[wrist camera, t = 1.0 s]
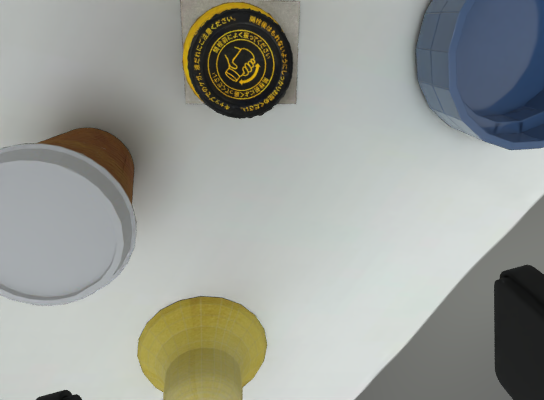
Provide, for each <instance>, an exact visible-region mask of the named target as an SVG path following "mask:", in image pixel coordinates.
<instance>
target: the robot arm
mask: <svg viewBox="0 0 544 400" xmlns="http://www.w3.org/2000/svg"><path fill="white" fill-rule="evenodd" d="M494 310H495V311H494V312H495V313H494V315H495V316H494V320H495V321H494V322H495V372H496V375H497V378H498V380H499V382H500V383H501V385H502V386H503V387H504V389H505V390H506V391H507V392H508V394H509V395H510V396H511V397H512V399H513V400H544V274H542V273H541V272H540V271H538V270H537V269H536V268H534V267H532V266H530V265H524V266H521V267H517V268H513V269H510V270H506V271H503V272H502V273H501V274H500V279H499V280H496V281H495V284H494ZM36 400H82V399H81V397H80V396H79V395H77V394H76V395H72V394H71V392H70V391H68V390H63V391H59V392H56V393H52V394H48V395H45V396H41V397H39V398H37V399H36Z"/></svg>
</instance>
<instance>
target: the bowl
mask: <svg viewBox="0 0 544 400" xmlns="http://www.w3.org/2000/svg"><path fill="white" fill-rule="evenodd" d="M416 60H417V76H418V82H419V85H420V87H421V89H422V91H423V94H424V96H425V98H426V100H427V103H428V105H429V107H430V108H431V109H432V110H433V111H434V112H435V113H436V114H437V115H438V116H439V117H440V118H441V119H442V120H443V121H444V122H445V123H447V124H448V125H449V126H450V127H452V128H455V129H457V130H459V131H462V132H464V133H466V134H468V135H471V136H473V137H475V138H478V139H480V140H482V141H485V142H488V143H491V144H494V145H497V146H500V147H502V148H505V149H508V150H521V149H536V148H543V147H544V0H432V2H431V3H430V5H429V7H428V8H427V10H426V12H425V14H424V18H423V22H422V26H421V30H420V34H419V38H418V41H417V45H416Z"/></svg>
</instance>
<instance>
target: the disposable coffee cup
mask: <svg viewBox="0 0 544 400" xmlns="http://www.w3.org/2000/svg"><path fill="white" fill-rule="evenodd" d="M133 177H134V164H133V160H132V157H131V155H130V153H129V151H128V149H127V148H126V147H125V145H124V144H123V143H122V142H121V141H120V140H119V139H118V138H116V137H115V136H113V135H112V134H110V133H108V132H106V131H102V130H99V129H95V128H79V129H74V130H72V131H69V132H67V133H64V134H61V135H58V136H55V137H52V138H50V139H47V140H44V141H41V142H39V143H25V144H19V145H14V146H9V147H5V148H2V149H0V295H1V296H3V297H6V298H8V299H10V300H14V301H18V302H23V303H27V304H33V305H41V306H53V305H62V304H68V303H71V302H74V301H77V300H80V299H83V298H85V297H87V296H89V295H91V294H93V293H95V292H96V291H97V290H99V289H101V288H102V287H104V286H106V285H107V284H109V283H110V282H111V281H112V280H114V279H115V278H116V277H117V276H118V275H119V274H120V273H121V271H122V270H123V269H124V268H125V266H126V265H127V264H128V261H129V259H130V257H131V254H132V252H133V250H134V247H135V240H136V219H135V214H134V210H133V206H132V195H133Z"/></svg>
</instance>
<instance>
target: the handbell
mask: <svg viewBox="0 0 544 400" xmlns="http://www.w3.org/2000/svg"><path fill="white" fill-rule="evenodd" d="M266 348H267V342H266V337H265V331H264V328H263V327H262V325H261V324H260V322H259V321H258V319H257V318H256V316H255V315H254V314H252V313H251V312H250V311H249V310H247V309H246V308H245V307H243V306H242V305H241V304H238V303H235V302H232V301H229V300H226V299H224V298H216V297H196V298H191V299H186V300H181V301H178V302H176V303H174V304H172V305H170V306H168V307H166V308H164V309H162V310H160V311H159V312H158V313H157V314H156V315H155V316H154V317H153V318H152V319H151V320H150V321H149V322H148V323H147V324H146V326H145V328H144V330H143V332H142V334H141V336H140V338H139V342H138V354H137V357H138V359H139V362H140V365H141V368H142V371H143V373H144V375H145V376H146V377H147V378H148V379H149V381H150V382H151V383H152V384H153V385H154V386H155V388H157V389H159V390H160V391H162V392H164V394H163V400H242V388H243V387H244V386H245V385H246V384H247V383H248V382H249V381H251V380H252V379H253V378H254V376H255V374H256V373H257V371H258V370H259V368H260V366H261V365H262V363H263V361H264V358H265V353H266Z"/></svg>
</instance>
